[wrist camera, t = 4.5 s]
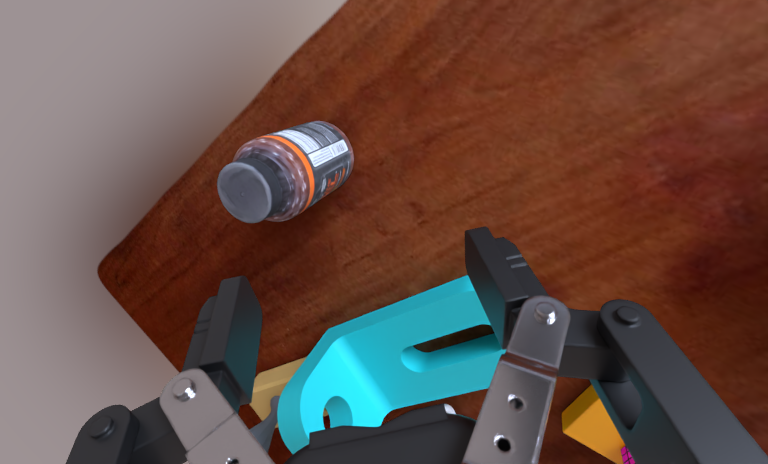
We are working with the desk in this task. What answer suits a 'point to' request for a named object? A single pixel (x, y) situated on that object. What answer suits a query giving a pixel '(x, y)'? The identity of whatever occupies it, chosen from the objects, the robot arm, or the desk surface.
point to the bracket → (389, 363)
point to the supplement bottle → (285, 172)
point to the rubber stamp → (271, 399)
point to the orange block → (594, 427)
